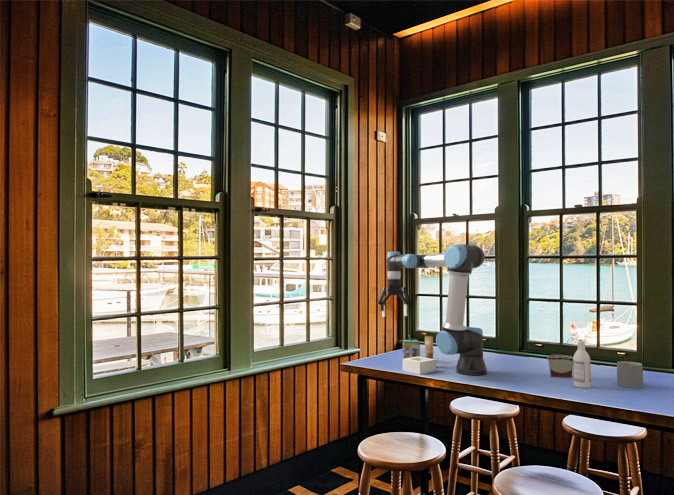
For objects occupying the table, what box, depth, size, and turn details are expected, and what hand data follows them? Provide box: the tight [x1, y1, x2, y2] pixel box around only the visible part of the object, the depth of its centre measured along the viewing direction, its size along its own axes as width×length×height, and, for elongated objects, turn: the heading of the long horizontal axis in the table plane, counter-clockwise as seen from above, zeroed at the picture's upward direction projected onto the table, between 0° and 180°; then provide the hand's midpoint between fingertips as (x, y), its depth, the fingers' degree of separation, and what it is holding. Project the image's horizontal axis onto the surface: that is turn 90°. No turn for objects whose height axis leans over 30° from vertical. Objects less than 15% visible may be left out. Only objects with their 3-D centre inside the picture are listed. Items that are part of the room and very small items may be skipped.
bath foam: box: [572, 340, 592, 389], centre depth 215 cm, size 7×7×20 cm
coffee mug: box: [616, 360, 644, 390], centre depth 217 cm, size 13×10×10 cm
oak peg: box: [424, 335, 434, 359], centre depth 260 cm, size 4×4×16 cm
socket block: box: [402, 356, 437, 375], centre depth 249 cm, size 12×12×6 cm
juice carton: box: [401, 334, 421, 360], centre depth 279 cm, size 9×9×15 cm
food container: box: [547, 354, 574, 379], centre depth 236 cm, size 12×6×10 cm, turn 74°
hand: (394, 316), depth 273 cm, fingers open, 13 cm apart
